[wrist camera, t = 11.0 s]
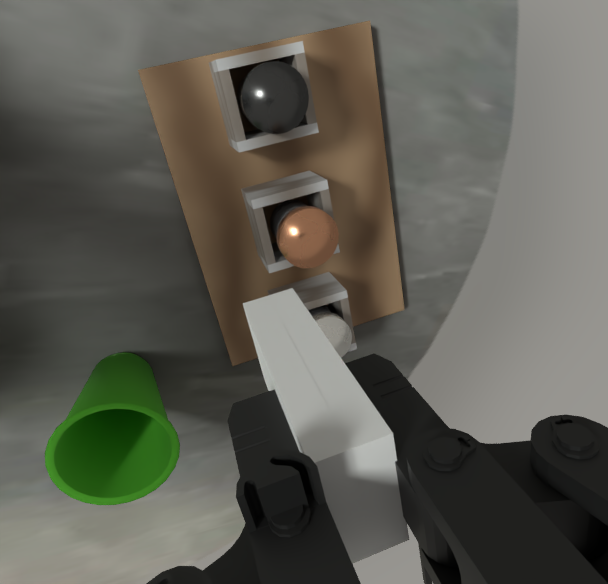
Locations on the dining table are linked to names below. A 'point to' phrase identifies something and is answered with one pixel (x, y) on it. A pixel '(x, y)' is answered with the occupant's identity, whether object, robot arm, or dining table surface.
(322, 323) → the offwhite plunger
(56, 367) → the dining table surface
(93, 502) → the cup
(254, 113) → the black plunger
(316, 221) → the copper domed cylinder
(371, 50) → the panel
